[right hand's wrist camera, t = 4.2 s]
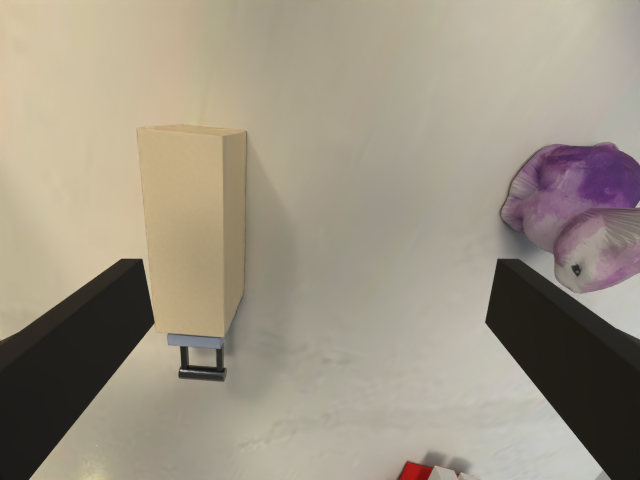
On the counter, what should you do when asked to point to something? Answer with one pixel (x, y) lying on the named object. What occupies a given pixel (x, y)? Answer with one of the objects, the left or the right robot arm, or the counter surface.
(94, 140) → the counter surface
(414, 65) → the counter surface
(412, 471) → the toy
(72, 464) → the counter surface
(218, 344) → the drawer
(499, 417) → the counter surface
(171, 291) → the cabinet
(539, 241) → the figurine
